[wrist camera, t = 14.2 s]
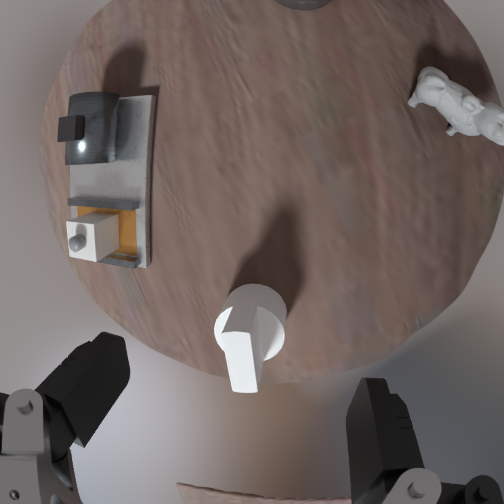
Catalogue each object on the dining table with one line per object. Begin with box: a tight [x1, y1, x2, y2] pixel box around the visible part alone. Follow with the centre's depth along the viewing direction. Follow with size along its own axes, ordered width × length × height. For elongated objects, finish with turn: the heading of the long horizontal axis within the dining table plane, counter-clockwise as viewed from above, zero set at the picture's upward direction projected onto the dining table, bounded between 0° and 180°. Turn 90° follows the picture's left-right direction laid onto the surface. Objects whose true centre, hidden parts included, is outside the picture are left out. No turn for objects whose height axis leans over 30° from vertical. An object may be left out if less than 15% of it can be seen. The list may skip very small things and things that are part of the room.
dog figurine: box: [408, 67, 504, 145], centre depth 25 cm, size 5×13×11 cm, turn 65°
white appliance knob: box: [214, 283, 287, 393], centre depth 37 cm, size 9×9×12 cm
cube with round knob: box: [66, 212, 120, 262], centre depth 37 cm, size 5×5×8 cm
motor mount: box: [57, 92, 157, 269], centre depth 35 cm, size 24×14×10 cm, turn 175°
